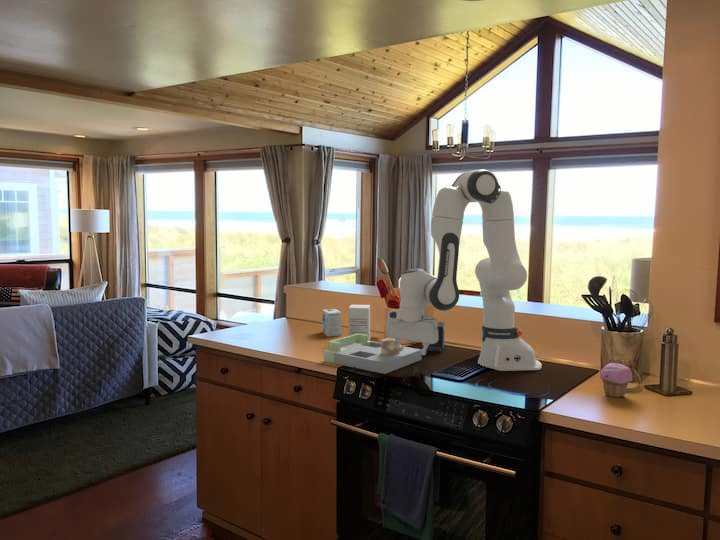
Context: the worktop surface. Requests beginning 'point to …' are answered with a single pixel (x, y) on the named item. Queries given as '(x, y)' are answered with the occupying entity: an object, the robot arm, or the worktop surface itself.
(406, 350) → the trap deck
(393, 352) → the birch block
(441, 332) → the small box
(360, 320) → the supplement box
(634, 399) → the worktop surface
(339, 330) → the light bulb box
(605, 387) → the cupcake
